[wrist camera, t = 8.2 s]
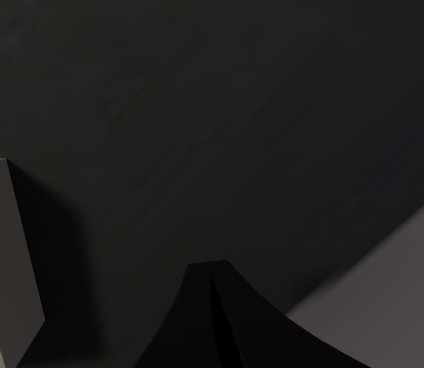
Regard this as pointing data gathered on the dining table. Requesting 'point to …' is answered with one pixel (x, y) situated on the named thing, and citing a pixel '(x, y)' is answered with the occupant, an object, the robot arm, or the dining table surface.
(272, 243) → the dining table surface
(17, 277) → the bridge
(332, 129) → the dining table surface
